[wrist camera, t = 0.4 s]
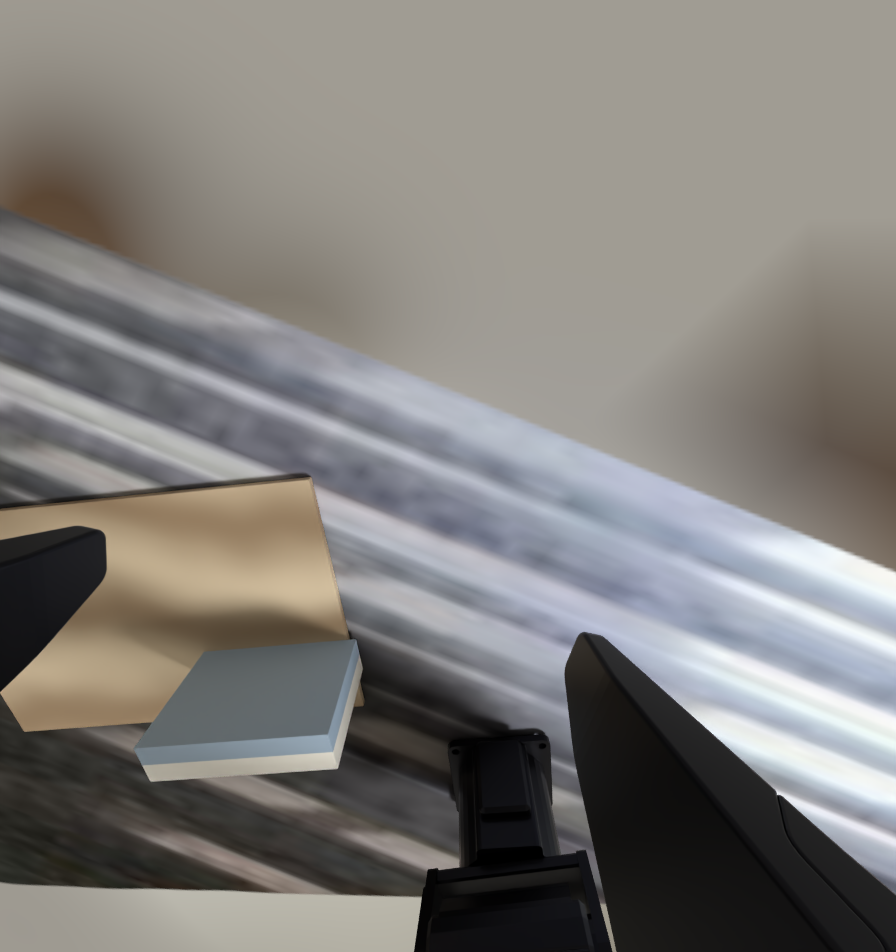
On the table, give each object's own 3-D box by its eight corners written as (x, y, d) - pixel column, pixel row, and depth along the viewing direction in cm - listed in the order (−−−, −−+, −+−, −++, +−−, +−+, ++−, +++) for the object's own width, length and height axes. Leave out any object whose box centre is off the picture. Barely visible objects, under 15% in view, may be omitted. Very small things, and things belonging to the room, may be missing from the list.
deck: (362, 668, 26) (337, 768, 20) (215, 680, 26) (150, 781, 21) (355, 639, 25) (327, 734, 19) (203, 651, 25) (133, 748, 20)
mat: (364, 700, 27) (363, 705, 27) (30, 726, 28) (24, 731, 28) (311, 476, 22) (308, 479, 22) (-98, 518, 23) (-108, 522, 23)
